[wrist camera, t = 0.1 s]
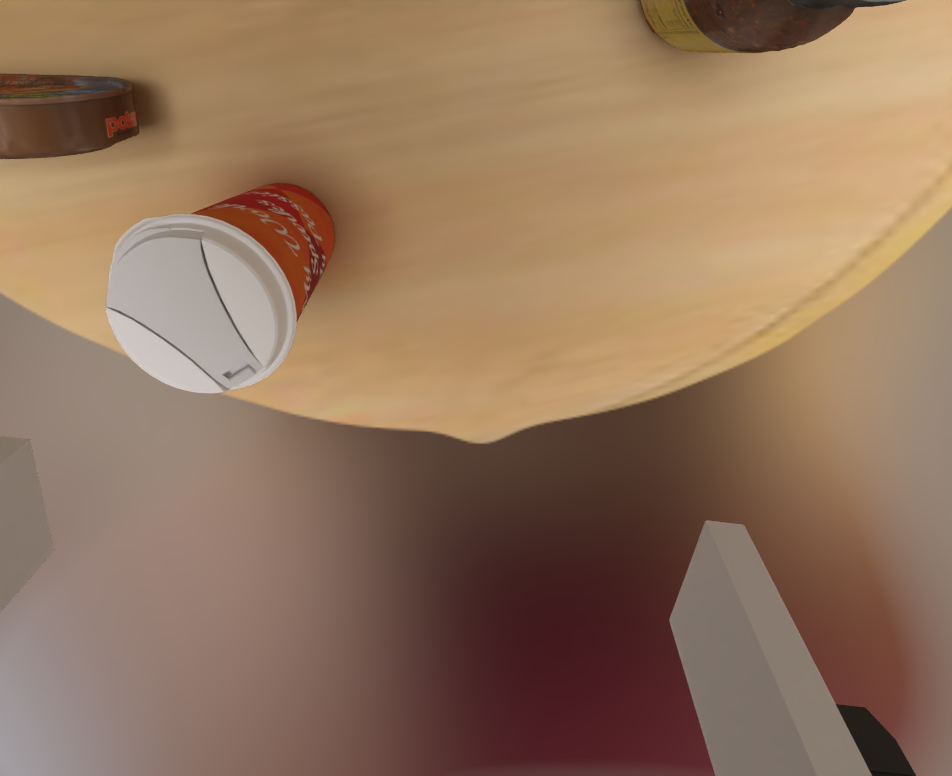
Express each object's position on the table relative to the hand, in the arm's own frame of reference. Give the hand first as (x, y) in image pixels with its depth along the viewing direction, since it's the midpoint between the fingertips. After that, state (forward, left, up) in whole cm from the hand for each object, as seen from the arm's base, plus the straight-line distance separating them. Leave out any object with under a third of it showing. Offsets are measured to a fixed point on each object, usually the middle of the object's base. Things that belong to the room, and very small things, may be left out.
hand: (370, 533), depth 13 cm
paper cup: (+2, -9, -28) cm, 30 cm away
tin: (-3, -23, -28) cm, 37 cm away
